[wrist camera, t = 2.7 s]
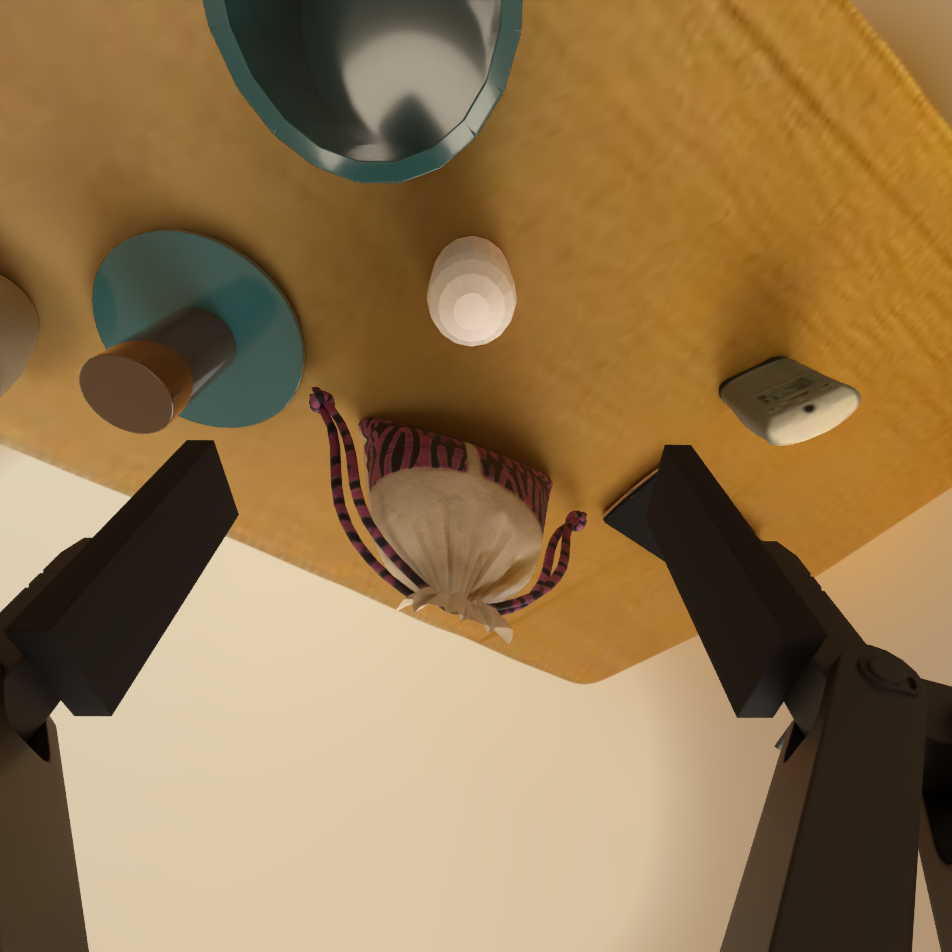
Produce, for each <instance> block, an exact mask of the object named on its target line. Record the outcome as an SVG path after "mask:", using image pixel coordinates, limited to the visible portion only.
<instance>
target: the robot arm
mask: <svg viewBox="0 0 952 952" xmlns="http://www.w3.org/2000/svg"><path fill="white" fill-rule="evenodd" d="M238 515H239V514H238V511H237V508H236V505H235V502H234V499H233V496H232V493H231V490H230V487H229V484H228V481H227V478H226V476H225V473H224V470H223V467H222V464H221V461H220V458H219V455H218V452H217V449H216V446H215V443H214V440H187V441H186V442H185V443H184V444H183V445H182V446H181V447H180V448H179V449H178V450H177V451H176V452H175V453H174V454H173V455H172V456H171V457H170V458H169V459H168V460H167V461H166V462H165V463H164V465H163V466H162V467H161V468H160V469H159V470H158V471H157V472H156V473H155V474H154V475H153V476H152V477H151V478H150V479H149V480H148V481H147V482H146V483H145V484H144V485H143V486H142V487H141V488H140V489H139V490H138V491H137V492H136V493H135V495H134V496H133V497H132V498H131V499H130V500H129V501H128V502H127V503H126V504H125V505H124V506H123V507H122V508H121V509H120V510H119V511H118V512H117V513H116V514H115V515H114V516H113V517H112V518H111V519H110V520H109V521H108V522H107V524H106V525H105V526H104V527H103V528H102V529H101V530H100V531H99V532H98V533H97V534H96V535H95V536H94V537H93V538H83V539H82V540H80V541H78V542H77V543H75V544H74V545H72V546H71V547H69V548H67V549H66V550H64V551H63V552H61V553H60V554H59V555H58V556H57V557H56V558H55V559H54V560H53V561H52V562H51V563H50V564H49V565H48V566H47V567H46V568H45V569H44V570H43V571H44V572H43V573H40V574H39V575H38V576H37V577H35V578H34V579H33V580H32V581H31V582H30V584H29V587H28V588H25V589H23V590H22V591H21V592H20V593H19V594H18V595H17V596H16V597H15V598H14V599H13V600H12V601H11V602H10V603H9V604H8V605H7V606H6V607H5V608H4V609H3V610H2V611H1V612H0V952H89V950H88V943H87V936H86V929H85V922H84V915H83V908H82V902H81V894H80V888H79V881H78V874H77V867H76V860H75V853H74V846H73V839H72V833H71V826H70V819H69V812H68V806H67V799H66V791H65V785H64V778H63V771H62V764H61V757H60V750H59V743H58V736H57V730H56V725H55V724H54V722H53V720H52V719H51V717H50V716H49V715H50V714H51V712H52V711H53V710H54V709H55V707H56V706H57V705H58V703H59V702H60V700H61V701H62V702H63V703H64V704H65V705H66V707H67V708H68V709H69V710H70V711H71V713H72V714H73V715H74V716H112V714H113V713H114V711H115V710H116V708H117V706H118V705H119V703H120V702H121V700H122V699H123V697H124V695H125V694H126V692H127V691H128V689H129V688H130V686H131V684H132V683H133V681H134V680H135V678H136V676H137V675H138V673H139V672H140V670H141V668H142V667H143V665H144V664H145V662H146V661H147V659H148V658H149V656H150V654H151V652H152V651H153V650H154V648H155V646H156V645H157V643H158V642H159V640H160V638H161V637H162V635H163V634H164V632H165V631H166V629H167V627H168V626H169V624H170V623H171V621H172V620H173V618H174V616H175V615H176V613H177V612H178V610H179V608H180V607H181V605H182V604H183V602H184V600H185V599H186V597H187V596H188V594H189V593H190V591H191V589H192V588H193V586H194V585H195V583H196V582H197V580H198V578H199V577H200V575H201V574H202V572H203V570H204V569H205V567H206V566H207V564H208V563H209V561H210V559H211V558H212V556H213V555H214V553H215V551H216V550H217V548H218V547H219V545H220V544H221V542H222V540H223V538H224V537H225V536H226V534H227V533H228V531H229V529H230V528H231V526H232V525H233V523H234V521H235V520H236V518H237V517H238ZM645 519H646V521H647V524H648V526H649V528H650V530H651V532H652V534H653V537H654V539H655V541H656V543H657V545H658V547H659V550H660V552H661V554H662V556H663V558H664V560H665V563H666V565H667V567H668V569H669V571H670V573H671V576H672V578H673V580H674V582H675V584H676V586H677V589H678V591H679V593H680V595H681V597H682V599H683V602H684V604H685V606H686V608H687V610H688V612H689V615H690V617H691V619H692V621H693V623H694V625H695V628H696V630H697V632H698V634H699V636H700V638H701V640H702V643H703V645H704V647H705V649H706V651H707V654H708V656H709V658H710V660H711V662H712V664H713V666H714V669H715V671H716V673H717V675H718V677H719V680H720V682H721V684H722V686H723V688H724V690H725V693H726V695H727V697H728V699H729V701H730V703H731V706H732V708H733V710H734V712H735V714H736V716H737V718H773V717H774V715H775V714H776V712H777V710H778V709H779V707H780V706H781V705H782V703H783V702H785V704H786V706H787V708H788V709H789V711H790V713H791V715H792V717H793V719H794V720H793V721H792V722H791V724H790V725H789V727H788V728H787V729H786V731H785V732H784V734H783V735H782V736H781V738H780V739H779V741H778V742H777V743H776V745H775V747H776V748H778V749H781V752H780V755H779V759H778V762H777V765H776V768H775V771H774V775H773V778H772V781H771V785H770V788H769V791H768V795H767V798H766V801H765V805H764V808H763V812H762V814H761V818H760V821H759V824H758V828H757V831H756V834H755V838H754V841H753V844H752V847H751V851H750V854H749V857H748V861H747V864H746V867H745V870H744V874H743V877H742V880H741V883H740V887H739V890H738V893H737V897H736V900H735V903H734V907H733V910H732V913H731V916H730V920H729V923H728V926H727V930H726V933H725V937H724V940H723V943H722V946H721V949H720V952H912V939H913V923H914V907H915V891H916V876H917V861H918V849H919V853H920V858H921V862H922V866H923V871H924V876H925V880H926V884H927V889H928V893H929V898H930V903H931V907H932V912H933V916H934V921H935V925H936V930H937V934H938V939H939V943H940V947H941V952H952V687H951V686H947V685H944V684H940V683H936V682H932V681H928V680H925V679H921V678H920V677H919V676H918V674H917V673H916V671H914V670H913V669H912V668H911V667H910V666H909V665H907V664H906V663H905V662H904V661H903V660H901V659H900V658H898V657H896V656H895V655H893V654H891V653H889V652H888V651H886V650H883V649H880V648H877V647H874V646H871V645H867V644H866V643H865V642H864V641H863V640H862V638H861V637H860V636H859V634H858V633H857V632H856V631H855V629H854V628H853V627H852V626H851V624H850V623H849V622H848V620H847V619H846V618H845V617H844V615H843V614H842V613H841V612H840V611H839V609H838V608H837V607H836V605H835V604H834V603H833V601H832V600H831V599H830V598H829V596H828V595H827V594H826V592H825V591H822V590H821V586H820V585H819V584H818V583H817V581H816V580H815V579H814V577H811V576H810V572H809V571H808V570H807V568H806V567H805V566H804V565H803V563H802V562H801V561H800V559H799V558H798V557H797V556H796V555H795V554H793V553H792V552H791V551H789V550H788V549H786V548H785V547H784V546H782V545H781V544H780V543H778V542H777V541H760V540H759V538H758V537H757V535H756V534H755V533H754V531H753V530H752V529H751V527H750V526H749V524H748V523H747V522H746V520H745V519H744V518H743V516H742V515H741V513H740V512H739V511H738V509H737V508H736V507H735V505H734V504H733V502H732V501H731V500H730V498H729V497H728V496H727V494H726V493H725V491H724V490H723V489H722V487H721V486H720V485H719V483H718V482H717V480H716V479H715V478H714V476H713V475H712V473H711V472H710V471H709V469H708V468H707V467H706V465H705V464H704V462H703V461H702V460H701V458H700V457H699V456H698V454H697V453H696V451H695V450H694V449H693V447H692V446H691V445H665V446H664V450H663V454H662V457H661V461H660V465H659V468H658V472H657V475H656V479H655V483H654V486H653V490H652V494H651V497H650V501H649V505H648V508H647V512H646V516H645Z"/></svg>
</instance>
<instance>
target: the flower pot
mask: <svg viewBox="0 0 952 952" xmlns="http://www.w3.org/2000/svg"><path fill="white" fill-rule="evenodd" d="M38 332H39V319H38V315H37V312H36V309H35V307H34V305H33V304H32V302H31V301H30V299H29V298H28V297H27V295H26V294H25V293H24V292H23V291H22V290H21V289H20V288H19V287H18V286H17V285H16V284H14V283H13V282H12V281H10V280H9V279H7V278H5V277H4V276H2V275H0V397H1V396H2V395H3V394H4V393H6V392H7V391H8V390H9V389H10V387H11V386H12V385H13V384H14V383H15V382H16V381H17V379H18V378H19V377H20V376H21V374H22V373H23V371H24V370H25V368H26V366H27V365H28V363H29V361H30V359H31V357H32V354H33V352H34V349H35V346H36V342H37V338H38Z"/></svg>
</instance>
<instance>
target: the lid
mask: <svg viewBox="0 0 952 952" xmlns="http://www.w3.org/2000/svg"><path fill="white" fill-rule="evenodd" d="M92 302H93V312H94V318H95V322H96V326H97V329H98V332H99V335H100V337H101V340H102V342H103V344H104V346H105V348H106V350H105V351H103V352H101V353H100V354H98V355H96V356H94V357H93V358H91V359H89V360H88V361H87V362H86V363H85V364H84V366H83V367H82V369H81V372H80V379H79V381H80V387H81V391H82V393H83V396H84V398H85V399H86V401H87V403H88V404H89V405H90V407H91V408H92V409H93V410H94V411H95V412H96V413H97V414H98V415H99V416H100V417H102V418H103V419H104V420H105V421H107V422H108V423H110V424H112V425H114V426H115V427H118V428H120V429H122V430H125V431H128V432H132V433H138V434H149V433H155V432H158V431H160V430H162V429H164V428H165V427H166V426H168V425H169V424H170V423H171V422H172V421H173V420H174V419H175V418H176V417H177V416H180V417H182V418H185V419H187V420H190V421H193V422H196V423H200V424H204V425H208V426H214V427H225V428H235V427H245V426H250V425H254V424H257V423H260V422H263V421H265V420H267V419H269V418H271V417H273V416H274V415H276V414H277V413H279V412H280V411H281V410H282V409H283V408H284V407H285V406H286V405H287V404H288V403H289V402H290V400H291V399H292V398H293V396H294V395H295V393H296V391H297V389H298V388H299V386H300V383H301V380H302V377H303V373H304V367H305V346H304V339H303V335H302V331H301V327H300V325H299V322H298V320H297V317H296V315H295V312H294V310H293V309H292V307H291V305H290V303H289V301H288V299H287V298H286V297H285V295H284V294H283V292H282V291H281V289H280V288H279V287H278V285H277V284H276V283H275V282H274V281H273V280H272V278H271V277H270V276H269V275H268V274H267V273H266V272H265V271H264V270H263V269H262V268H261V267H259V266H258V265H257V264H256V263H255V262H253V261H252V260H251V259H250V258H248V257H247V256H246V255H244V254H243V253H241V252H240V251H238V250H236V249H235V248H233V247H231V246H230V245H228V244H225V243H223V242H221V241H219V240H217V239H215V238H212V237H209V236H206V235H203V234H200V233H195V232H191V231H186V230H175V229H165V230H154V231H150V232H145V233H141V234H138V235H136V236H133V237H131V238H129V239H126V240H125V241H123V242H122V243H120V244H119V245H117V246H116V247H115V248H114V249H113V250H112V251H111V252H110V253H109V254H108V255H107V256H106V258H105V259H104V261H103V262H102V264H101V265H100V268H99V270H98V272H97V275H96V278H95V282H94V287H93V299H92Z"/></svg>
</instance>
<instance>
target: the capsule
mask: <svg viewBox="0 0 952 952" xmlns="http://www.w3.org/2000/svg"><path fill="white" fill-rule="evenodd" d="M516 302H517V299H516V291H515V283H514V279H513V276H512V273H511V270H510V267H509V264H508V262H507V260H506V258H505V256H504V255H503V253H502V251H501V249H499V248H498V247H497V246H496V245H494V244H493V243H492V242H491V241H489V240H488V239H484V238H480V237H476V236H468V237H463V238H457V239H456V240H454V241H453V242H451V243H450V244H448V245H447V246H446V247H444V248H443V250H442V251H441V253H440V255H439V256H438V258H437V259H436V261H435V264H434V267H433V271H432V274H431V277H430V281H429V287H428V293H427V303H428V307H429V312H430V316H431V318H432V320H433V322H434V323H435V325H436V326H437V328H438V329H439V331H440V332H441V334H443V335H444V336H445V337H447V338H448V339H450V340H451V341H453V342H454V343H457V344H461V345H466V346H470V347H471V346H477V345H483V344H487V343H489V342H491V341H492V340H494V339H495V338H497V337H499V336H500V335H501V334H502V333H503V331H504V330H505V329H506V327H507V326H508V325H509V323H510V322H511V320H512V317H513V313H514V309H515V306H516Z"/></svg>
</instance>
